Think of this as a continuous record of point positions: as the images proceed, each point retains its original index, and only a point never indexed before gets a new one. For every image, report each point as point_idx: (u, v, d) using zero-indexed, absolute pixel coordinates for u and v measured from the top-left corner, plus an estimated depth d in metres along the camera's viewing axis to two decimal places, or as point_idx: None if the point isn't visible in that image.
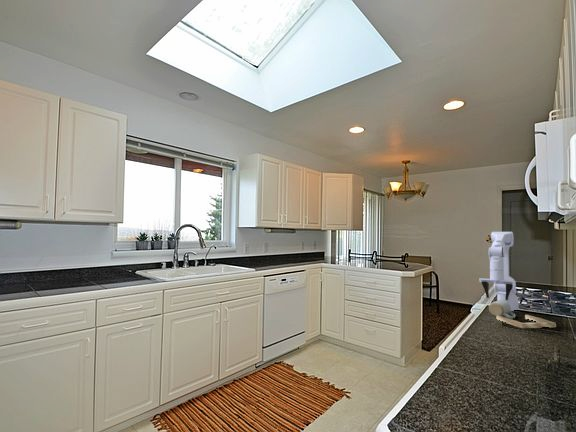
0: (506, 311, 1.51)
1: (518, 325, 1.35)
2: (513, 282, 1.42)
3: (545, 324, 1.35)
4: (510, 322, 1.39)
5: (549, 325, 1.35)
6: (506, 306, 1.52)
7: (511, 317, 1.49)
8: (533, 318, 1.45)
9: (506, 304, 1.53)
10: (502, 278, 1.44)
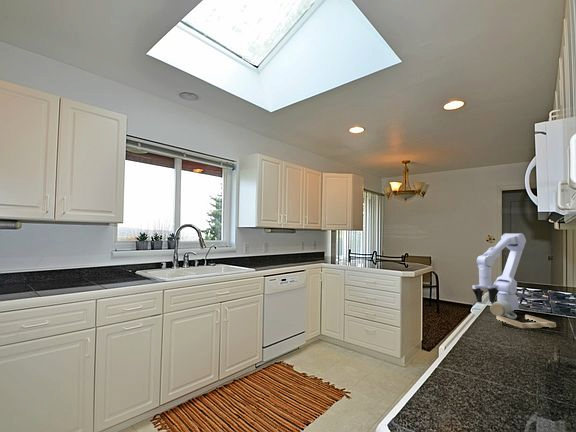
0: (507, 311, 1.51)
1: (518, 325, 1.35)
2: (497, 286, 1.65)
3: (545, 324, 1.35)
4: (510, 322, 1.39)
5: (549, 325, 1.35)
6: (507, 306, 1.52)
7: (512, 317, 1.48)
8: (533, 318, 1.45)
9: (507, 304, 1.53)
10: None
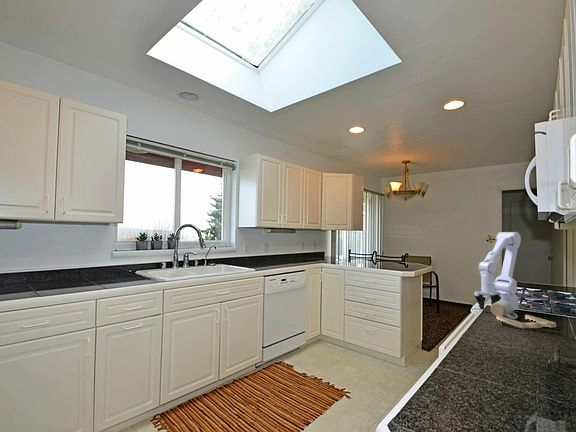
0: (508, 311, 1.51)
1: (518, 325, 1.35)
2: (500, 293, 1.63)
3: (545, 324, 1.35)
4: (510, 322, 1.39)
5: (549, 325, 1.35)
6: (508, 306, 1.52)
7: (513, 317, 1.48)
8: (533, 318, 1.45)
9: (508, 304, 1.53)
10: None
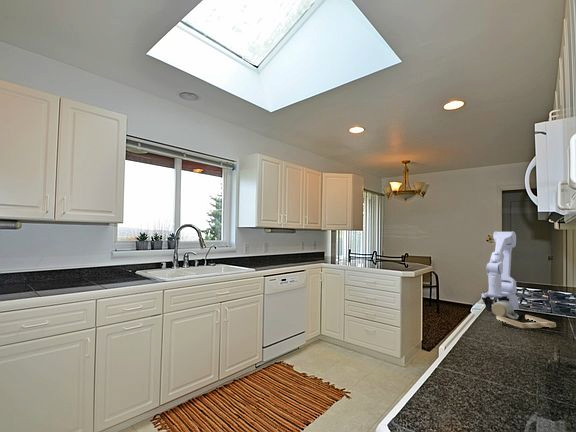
0: (509, 311, 1.50)
1: (518, 325, 1.35)
2: (507, 295, 1.58)
3: (545, 324, 1.35)
4: (510, 322, 1.39)
5: (549, 325, 1.35)
6: (509, 306, 1.51)
7: (514, 317, 1.48)
8: (533, 318, 1.45)
9: (509, 304, 1.52)
10: None
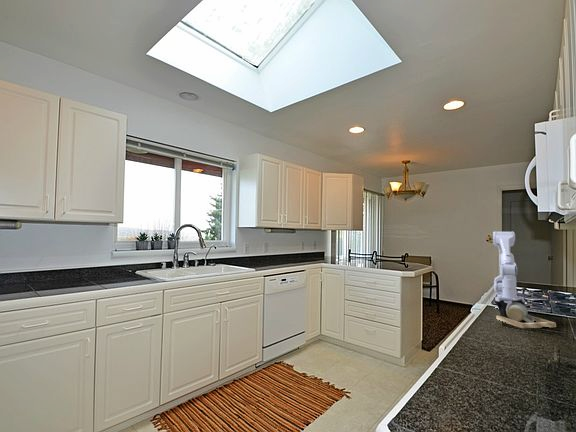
0: (525, 315, 1.43)
1: (518, 325, 1.35)
2: (523, 298, 1.50)
3: (545, 324, 1.35)
4: (510, 322, 1.39)
5: (549, 325, 1.35)
6: (524, 310, 1.44)
7: (531, 322, 1.41)
8: None
9: (524, 307, 1.45)
10: None
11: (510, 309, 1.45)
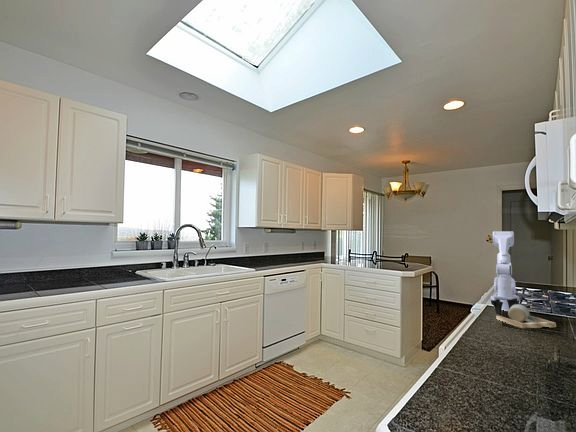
0: (527, 316, 1.42)
1: (518, 325, 1.35)
2: (517, 297, 1.53)
3: (545, 324, 1.35)
4: (510, 322, 1.39)
5: (549, 325, 1.35)
6: (526, 311, 1.43)
7: (533, 322, 1.40)
8: None
9: (525, 308, 1.45)
10: None
11: (512, 310, 1.44)
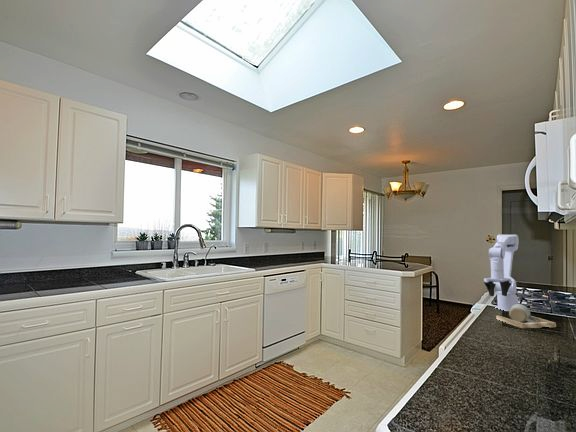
0: (528, 316, 1.42)
1: (518, 325, 1.35)
2: (510, 279, 1.60)
3: (545, 324, 1.35)
4: (510, 322, 1.39)
5: (549, 325, 1.35)
6: (527, 311, 1.43)
7: None
8: None
9: (526, 308, 1.44)
10: None
11: (513, 310, 1.44)
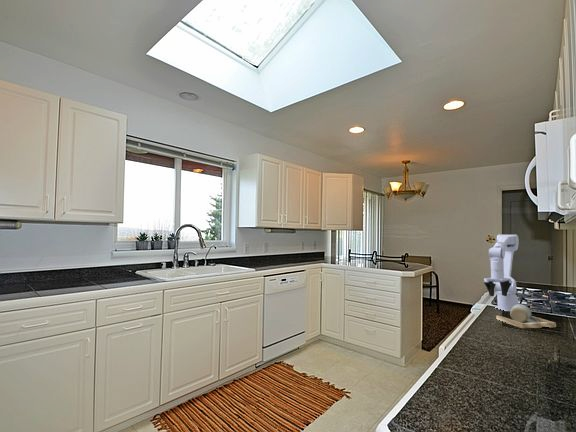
0: (529, 316, 1.42)
1: (518, 325, 1.35)
2: (510, 279, 1.60)
3: (545, 324, 1.35)
4: (510, 322, 1.39)
5: (549, 325, 1.35)
6: (528, 311, 1.43)
7: None
8: None
9: (527, 309, 1.44)
10: None
11: (514, 310, 1.43)
